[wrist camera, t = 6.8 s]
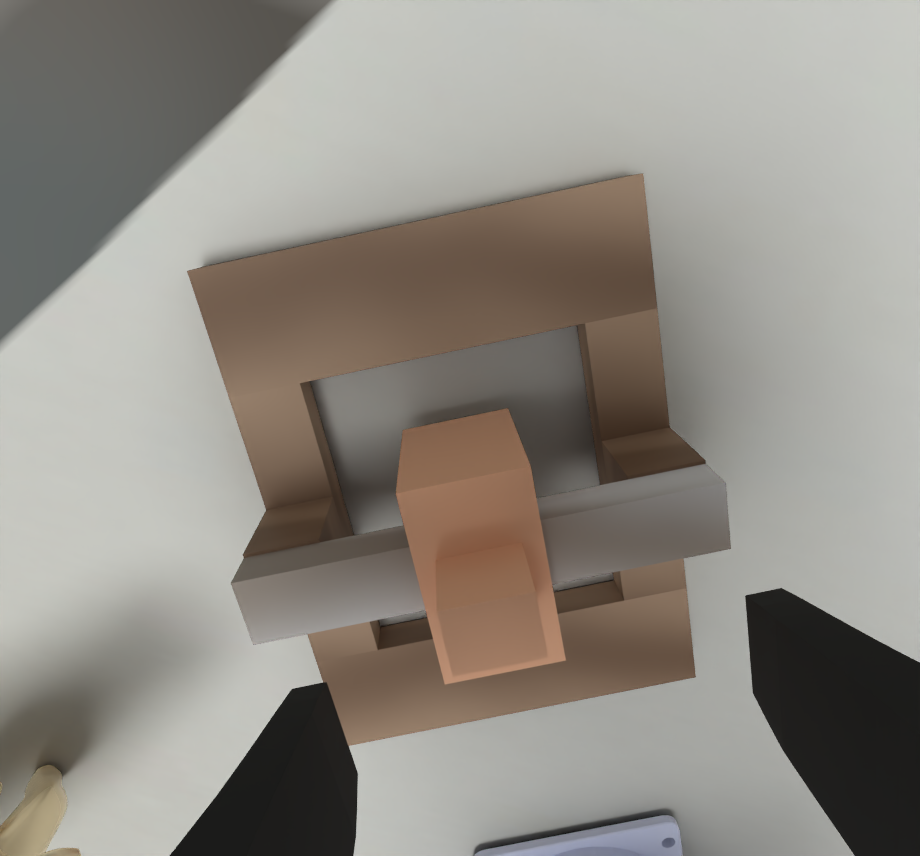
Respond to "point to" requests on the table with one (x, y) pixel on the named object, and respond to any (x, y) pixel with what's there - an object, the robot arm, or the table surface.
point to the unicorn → (36, 817)
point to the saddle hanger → (478, 546)
